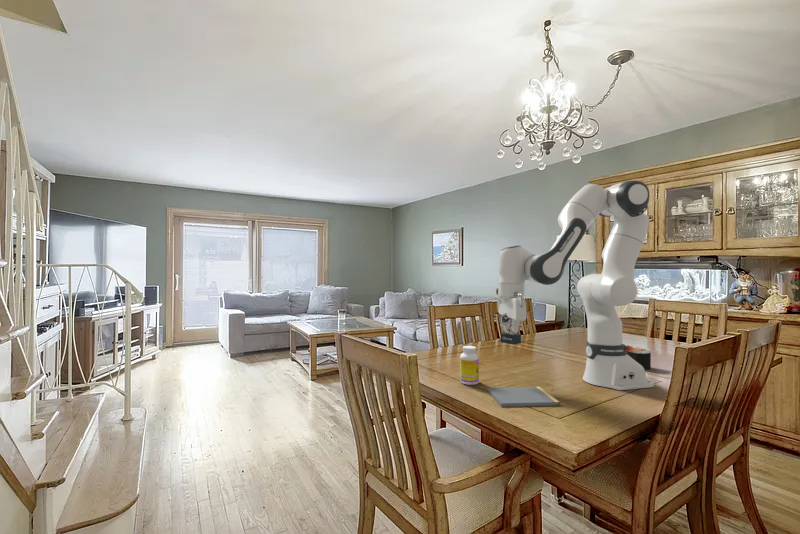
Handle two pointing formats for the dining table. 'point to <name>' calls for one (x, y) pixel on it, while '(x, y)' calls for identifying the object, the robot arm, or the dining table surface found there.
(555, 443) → the dining table surface
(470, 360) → the supplement bottle
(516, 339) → the watch
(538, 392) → the grey flat slab
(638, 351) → the sushi
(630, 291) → the robot arm
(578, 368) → the dining table surface
